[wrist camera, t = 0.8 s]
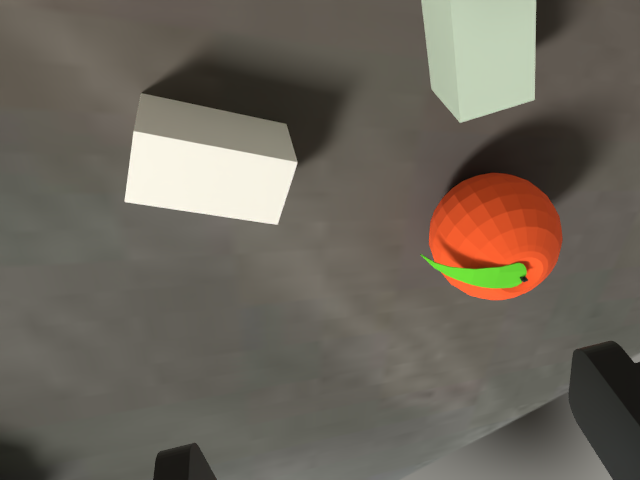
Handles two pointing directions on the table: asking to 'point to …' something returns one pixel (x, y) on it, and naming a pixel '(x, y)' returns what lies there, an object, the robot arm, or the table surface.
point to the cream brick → (209, 161)
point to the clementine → (495, 236)
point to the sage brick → (481, 54)
